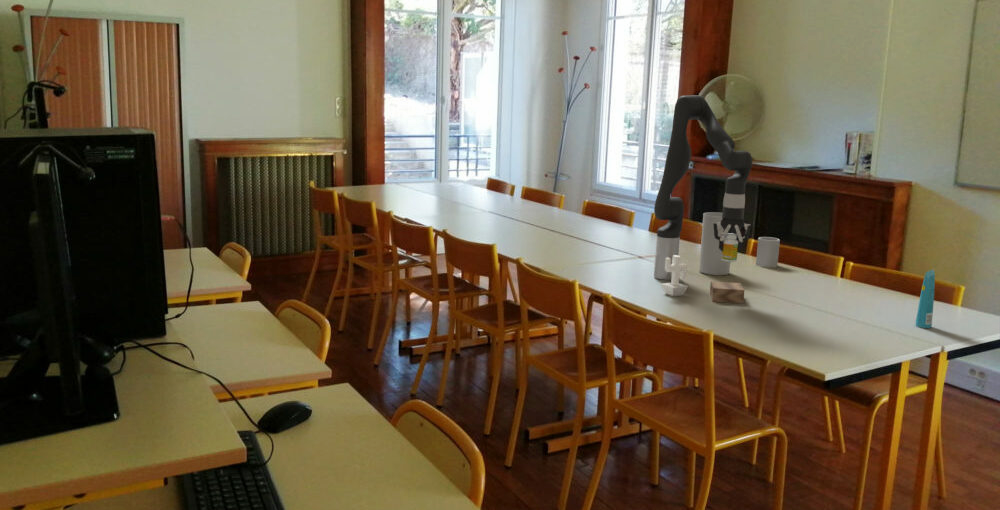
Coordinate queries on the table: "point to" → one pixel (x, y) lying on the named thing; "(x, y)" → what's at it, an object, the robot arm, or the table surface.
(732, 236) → the supplement bottle
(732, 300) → the walnut block
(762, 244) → the cup
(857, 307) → the table surface
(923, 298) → the tube
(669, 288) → the figurine
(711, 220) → the cylinder vase
